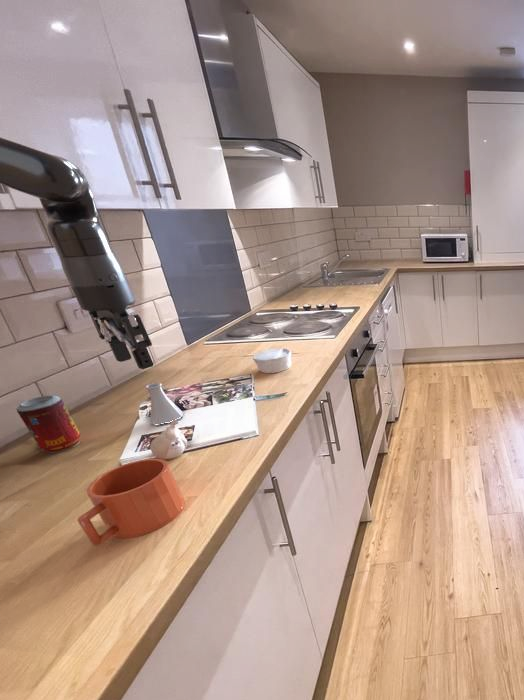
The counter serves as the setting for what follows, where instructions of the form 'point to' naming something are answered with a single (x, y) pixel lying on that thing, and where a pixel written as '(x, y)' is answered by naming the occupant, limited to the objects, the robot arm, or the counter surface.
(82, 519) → the mug
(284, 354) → the ramekin
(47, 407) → the soda can
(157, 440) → the garlic bulb
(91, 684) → the counter surface
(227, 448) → the counter surface
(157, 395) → the flask
